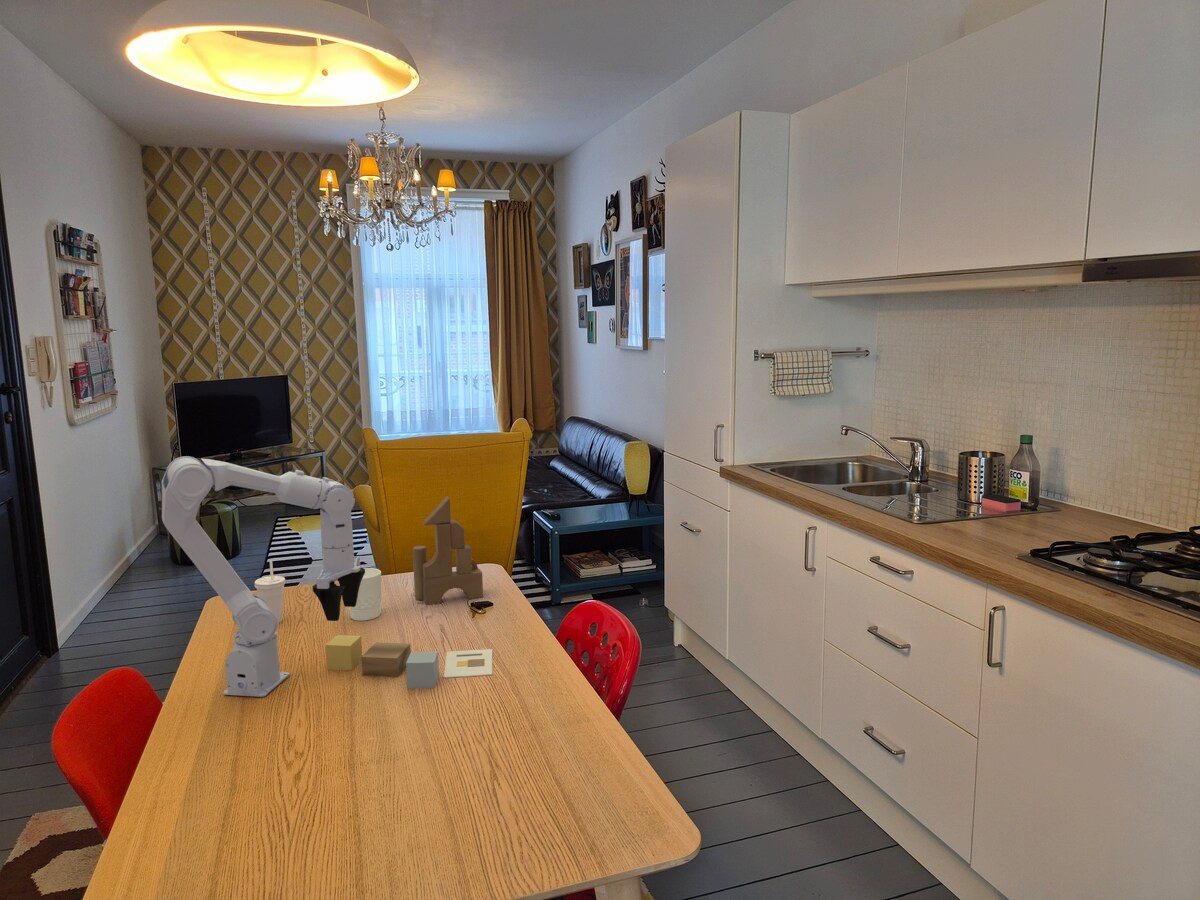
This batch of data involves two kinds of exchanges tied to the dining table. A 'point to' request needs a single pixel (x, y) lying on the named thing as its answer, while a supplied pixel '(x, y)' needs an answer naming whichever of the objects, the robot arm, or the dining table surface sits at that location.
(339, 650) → the mustard brick
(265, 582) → the smoothie
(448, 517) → the wooden toy
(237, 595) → the robot arm
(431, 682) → the slate brick
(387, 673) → the walnut base
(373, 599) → the white cup
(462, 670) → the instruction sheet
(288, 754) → the dining table surface
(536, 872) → the dining table surface
